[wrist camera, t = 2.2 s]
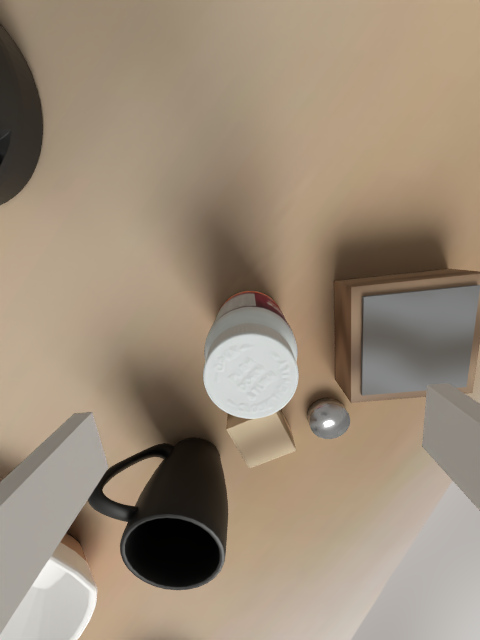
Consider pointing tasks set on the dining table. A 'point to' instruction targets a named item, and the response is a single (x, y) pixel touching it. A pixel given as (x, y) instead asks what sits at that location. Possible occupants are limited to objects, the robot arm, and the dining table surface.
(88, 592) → the bowl
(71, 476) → the robot arm
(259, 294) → the pill bottle
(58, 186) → the dining table surface
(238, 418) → the oak offcut
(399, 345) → the walnut stand
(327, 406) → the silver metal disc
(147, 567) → the mug
